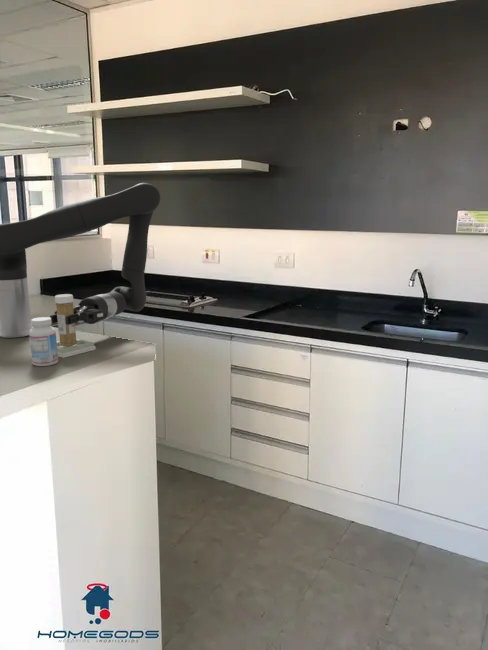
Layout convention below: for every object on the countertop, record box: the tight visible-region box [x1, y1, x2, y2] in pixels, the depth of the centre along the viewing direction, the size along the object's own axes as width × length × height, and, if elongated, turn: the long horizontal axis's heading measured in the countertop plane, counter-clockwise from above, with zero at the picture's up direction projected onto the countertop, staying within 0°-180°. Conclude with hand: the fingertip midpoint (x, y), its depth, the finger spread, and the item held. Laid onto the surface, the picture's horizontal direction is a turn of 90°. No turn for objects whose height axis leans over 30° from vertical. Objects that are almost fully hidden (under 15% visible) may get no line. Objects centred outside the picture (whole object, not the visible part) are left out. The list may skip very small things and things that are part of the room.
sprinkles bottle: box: [54, 293, 77, 346], centre depth 145 cm, size 5×5×14 cm
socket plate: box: [56, 338, 97, 358], centre depth 147 cm, size 10×10×2 cm
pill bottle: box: [28, 316, 59, 367], centre depth 134 cm, size 6×6×11 cm
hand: (59, 320), depth 142 cm, fingers closed on sprinkles bottle, 4 cm apart
